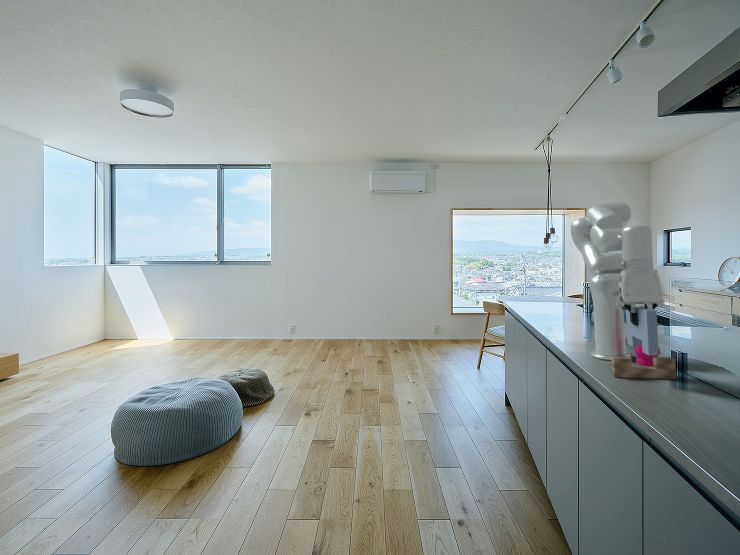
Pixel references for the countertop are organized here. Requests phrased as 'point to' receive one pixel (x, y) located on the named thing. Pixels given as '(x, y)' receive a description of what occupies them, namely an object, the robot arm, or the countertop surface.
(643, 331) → the light blue flat board
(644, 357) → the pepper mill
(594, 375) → the countertop surface
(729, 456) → the countertop surface
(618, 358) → the brown wooden u-shaped block
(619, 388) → the countertop surface
